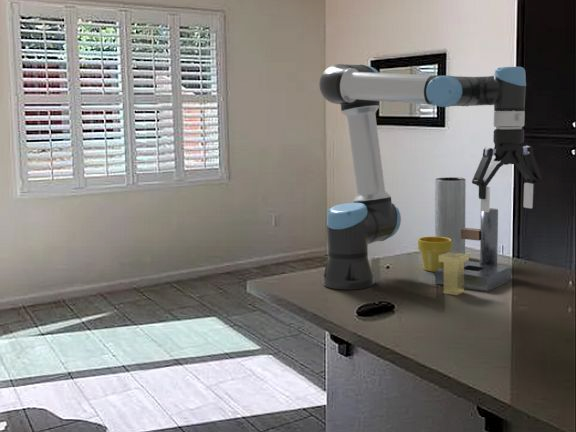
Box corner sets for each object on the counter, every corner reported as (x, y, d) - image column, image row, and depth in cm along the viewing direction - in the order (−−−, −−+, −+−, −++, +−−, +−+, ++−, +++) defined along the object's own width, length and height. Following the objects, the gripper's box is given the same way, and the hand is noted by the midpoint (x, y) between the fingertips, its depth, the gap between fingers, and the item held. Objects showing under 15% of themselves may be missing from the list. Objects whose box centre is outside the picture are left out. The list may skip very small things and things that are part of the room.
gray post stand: (433, 283, 197) (433, 215, 194) (466, 269, 212) (466, 206, 210) (487, 291, 186) (487, 220, 183) (517, 276, 202) (518, 210, 199)
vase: (470, 259, 226) (470, 179, 222) (442, 261, 225) (442, 180, 221) (457, 253, 236) (457, 176, 232) (430, 255, 234) (430, 178, 230)
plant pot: (455, 267, 216) (455, 237, 214) (444, 274, 207) (444, 243, 206) (425, 264, 221) (424, 235, 220) (413, 271, 213) (412, 240, 211)
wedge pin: (438, 293, 186) (438, 255, 184) (449, 288, 190) (449, 252, 189) (458, 296, 182) (458, 258, 180) (468, 291, 186) (469, 254, 185)
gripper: (476, 130, 166) (475, 215, 169) (558, 126, 174) (555, 207, 178) (459, 129, 173) (457, 211, 176) (538, 126, 181) (535, 204, 185)
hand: (506, 209), depth 177 cm, fingers open, 13 cm apart
